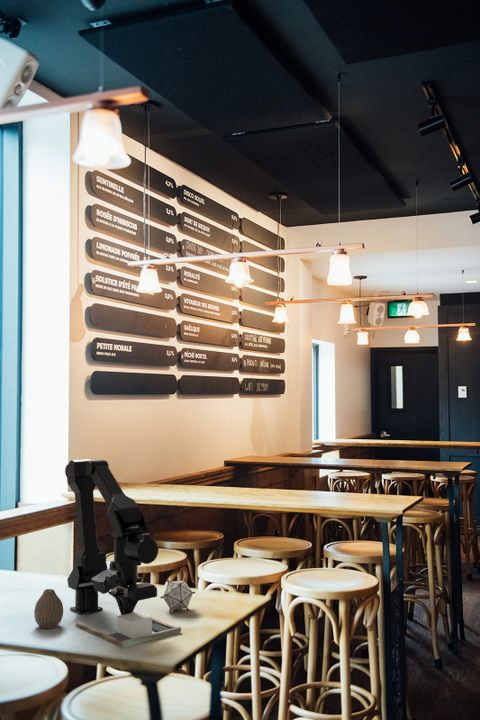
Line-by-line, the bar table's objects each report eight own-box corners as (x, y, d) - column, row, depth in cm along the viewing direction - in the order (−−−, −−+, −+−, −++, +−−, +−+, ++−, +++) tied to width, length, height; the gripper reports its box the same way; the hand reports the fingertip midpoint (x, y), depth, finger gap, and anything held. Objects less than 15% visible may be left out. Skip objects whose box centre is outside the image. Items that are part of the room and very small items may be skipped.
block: (116, 633, 182) (116, 616, 182) (137, 628, 186) (137, 611, 186) (130, 639, 178) (130, 621, 178) (151, 633, 182) (151, 616, 182)
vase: (38, 621, 191) (39, 586, 192) (66, 622, 191) (66, 586, 192) (30, 630, 184) (30, 593, 185) (58, 630, 184) (59, 593, 185)
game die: (182, 626, 200) (188, 601, 194) (153, 612, 202) (158, 587, 196) (196, 601, 207) (202, 577, 202) (167, 589, 209) (173, 564, 204)
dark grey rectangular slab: (106, 637, 179) (106, 635, 179) (155, 625, 188) (155, 623, 188) (120, 643, 175) (120, 641, 175) (170, 630, 184) (170, 628, 184)
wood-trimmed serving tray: (75, 626, 188) (75, 621, 188) (131, 613, 198) (131, 608, 198) (123, 647, 172) (123, 642, 172) (180, 632, 182) (180, 627, 183)
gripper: (77, 555, 188) (76, 619, 187) (118, 568, 174) (118, 637, 173) (116, 549, 196) (115, 611, 195) (158, 561, 182) (158, 627, 181)
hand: (125, 621), depth 186 cm, fingers closed
